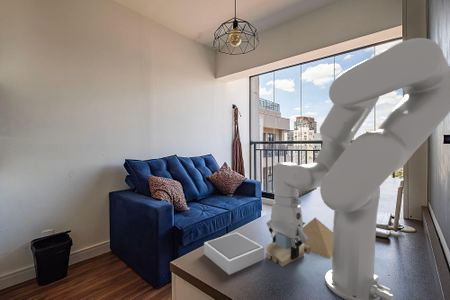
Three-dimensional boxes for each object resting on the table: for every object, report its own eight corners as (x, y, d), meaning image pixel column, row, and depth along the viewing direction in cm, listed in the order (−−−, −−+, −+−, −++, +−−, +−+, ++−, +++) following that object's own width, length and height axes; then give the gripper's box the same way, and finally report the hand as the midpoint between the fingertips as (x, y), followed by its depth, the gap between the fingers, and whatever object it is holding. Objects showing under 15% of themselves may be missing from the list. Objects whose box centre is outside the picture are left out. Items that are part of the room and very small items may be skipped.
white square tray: (263, 259, 71) (263, 246, 71) (229, 274, 63) (229, 260, 63) (236, 242, 83) (236, 231, 82) (204, 254, 74) (204, 241, 74)
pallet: (304, 255, 74) (304, 243, 73) (282, 266, 67) (282, 254, 67) (287, 247, 79) (287, 236, 79) (266, 257, 73) (266, 245, 72)
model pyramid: (282, 244, 82) (283, 218, 82) (302, 230, 95) (302, 207, 94) (330, 261, 71) (331, 231, 71) (344, 242, 84) (345, 217, 83)
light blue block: (295, 244, 73) (295, 233, 72) (285, 249, 70) (285, 237, 70) (285, 240, 76) (285, 229, 76) (275, 244, 73) (275, 232, 73)
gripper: (317, 204, 67) (315, 261, 68) (273, 193, 81) (272, 240, 82) (302, 209, 63) (301, 269, 64) (258, 196, 77) (258, 246, 78)
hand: (285, 252), depth 73 cm, fingers closed on pallet, 6 cm apart
